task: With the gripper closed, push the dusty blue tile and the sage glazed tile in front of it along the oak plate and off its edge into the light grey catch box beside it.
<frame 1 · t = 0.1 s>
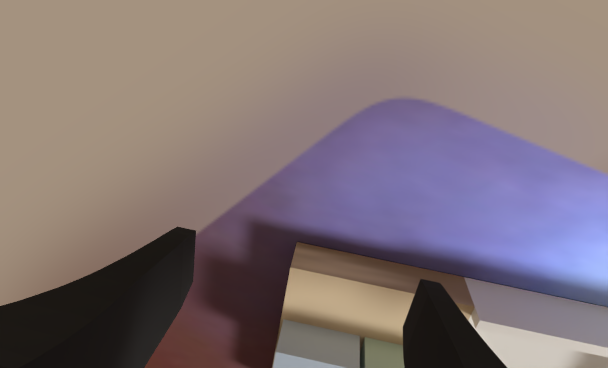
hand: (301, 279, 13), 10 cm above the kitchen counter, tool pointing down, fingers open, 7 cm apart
oak plate: (357, 332, 27), on the kitchen counter
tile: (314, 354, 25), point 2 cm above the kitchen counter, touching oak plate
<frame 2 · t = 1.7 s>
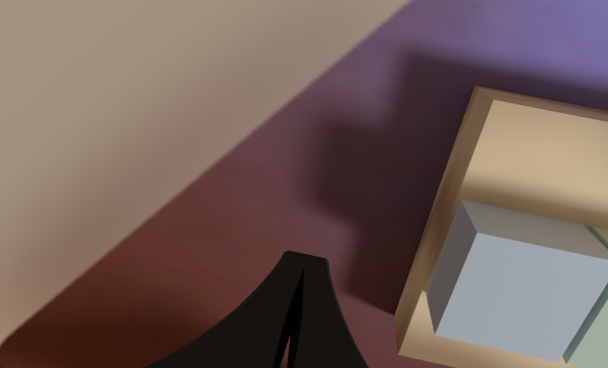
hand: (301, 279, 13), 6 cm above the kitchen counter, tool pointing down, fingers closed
oak plate: (539, 240, 18), on the kitchen counter
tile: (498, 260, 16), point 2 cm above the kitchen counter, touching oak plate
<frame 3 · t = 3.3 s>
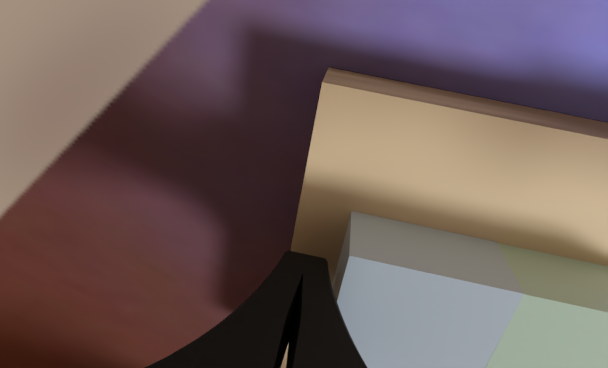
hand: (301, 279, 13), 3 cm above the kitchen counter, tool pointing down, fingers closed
oak plate: (425, 248, 16), on the kitchen counter
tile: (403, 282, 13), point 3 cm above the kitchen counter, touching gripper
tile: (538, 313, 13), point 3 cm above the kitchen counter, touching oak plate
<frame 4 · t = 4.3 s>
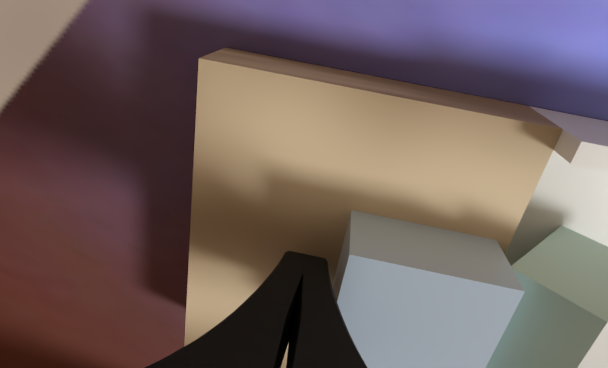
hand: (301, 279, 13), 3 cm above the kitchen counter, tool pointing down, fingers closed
oak plate: (337, 230, 16), on the kitchen counter
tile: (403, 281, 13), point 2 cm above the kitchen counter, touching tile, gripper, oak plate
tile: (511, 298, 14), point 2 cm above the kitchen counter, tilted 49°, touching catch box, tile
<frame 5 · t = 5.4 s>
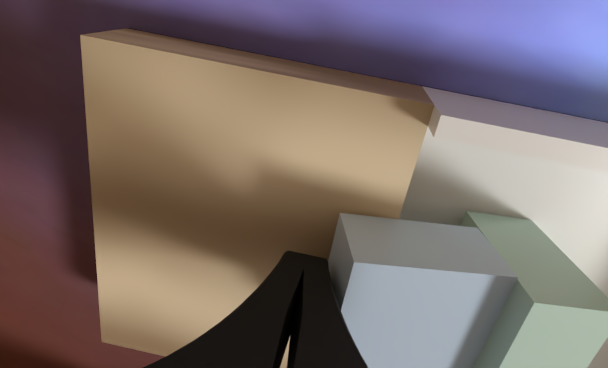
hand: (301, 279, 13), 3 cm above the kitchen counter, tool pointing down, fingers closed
oak plate: (251, 212, 16), on the kitchen counter
catch box: (531, 271, 16), on the kitchen counter
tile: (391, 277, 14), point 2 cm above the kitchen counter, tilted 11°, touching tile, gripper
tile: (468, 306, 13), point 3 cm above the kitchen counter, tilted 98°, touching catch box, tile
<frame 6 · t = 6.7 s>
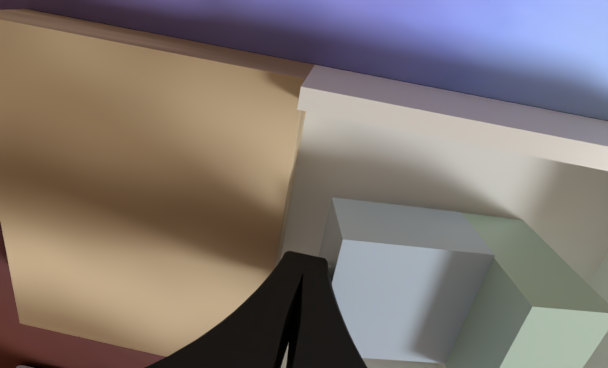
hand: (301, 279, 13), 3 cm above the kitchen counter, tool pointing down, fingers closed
oak plate: (165, 193, 16), on the kitchen counter
catch box: (440, 251, 16), on the kitchen counter
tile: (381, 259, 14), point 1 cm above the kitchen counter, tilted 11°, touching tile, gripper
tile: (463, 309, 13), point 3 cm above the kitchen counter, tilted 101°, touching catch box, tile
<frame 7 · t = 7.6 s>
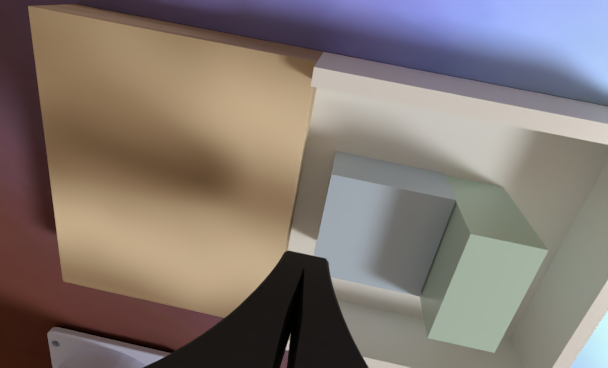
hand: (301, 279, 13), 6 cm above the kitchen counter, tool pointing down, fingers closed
oak plate: (191, 166, 18), on the kitchen counter
catch box: (432, 217, 18), on the kitchen counter
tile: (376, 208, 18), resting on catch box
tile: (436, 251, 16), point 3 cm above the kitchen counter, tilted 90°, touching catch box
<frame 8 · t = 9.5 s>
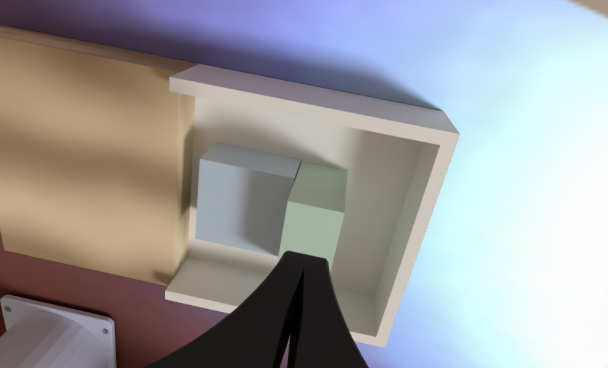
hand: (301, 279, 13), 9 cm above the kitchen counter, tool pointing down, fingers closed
oak plate: (107, 155, 23), on the kitchen counter
catch box: (300, 195, 22), on the kitchen counter
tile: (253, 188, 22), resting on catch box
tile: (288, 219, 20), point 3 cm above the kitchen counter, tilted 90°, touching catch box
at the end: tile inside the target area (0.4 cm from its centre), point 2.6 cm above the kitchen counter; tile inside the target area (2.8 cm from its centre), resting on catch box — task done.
